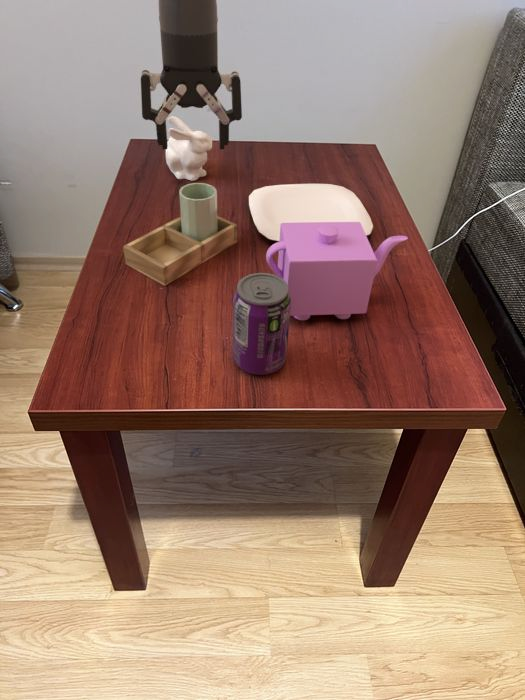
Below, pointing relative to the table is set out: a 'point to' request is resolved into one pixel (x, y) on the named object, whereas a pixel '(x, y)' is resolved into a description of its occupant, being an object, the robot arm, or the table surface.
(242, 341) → the beverage can
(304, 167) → the table surface
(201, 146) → the rabbit
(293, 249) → the teapot
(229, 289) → the table surface
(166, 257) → the holder
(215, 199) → the cup
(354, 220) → the plate
